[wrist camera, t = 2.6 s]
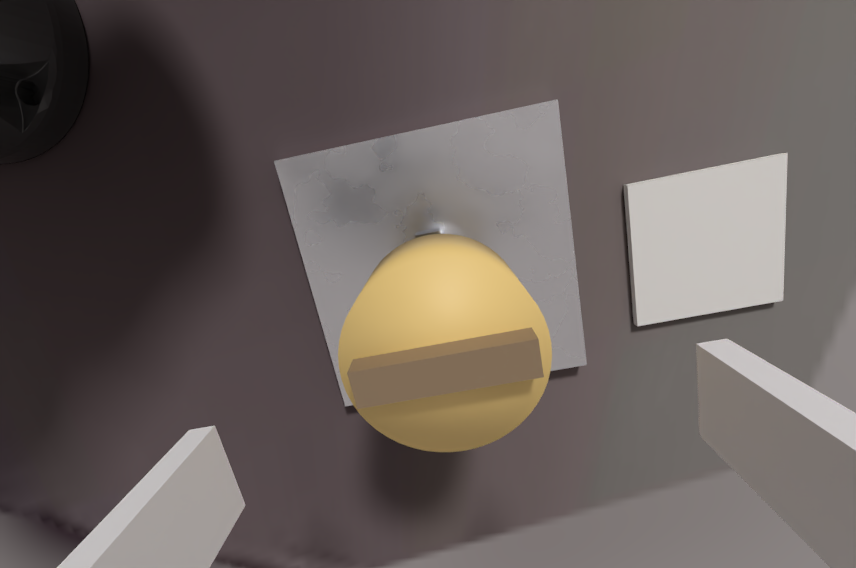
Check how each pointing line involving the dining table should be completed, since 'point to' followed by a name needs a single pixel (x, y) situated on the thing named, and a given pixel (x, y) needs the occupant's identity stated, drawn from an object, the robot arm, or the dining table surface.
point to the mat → (707, 239)
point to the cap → (444, 346)
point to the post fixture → (441, 212)
